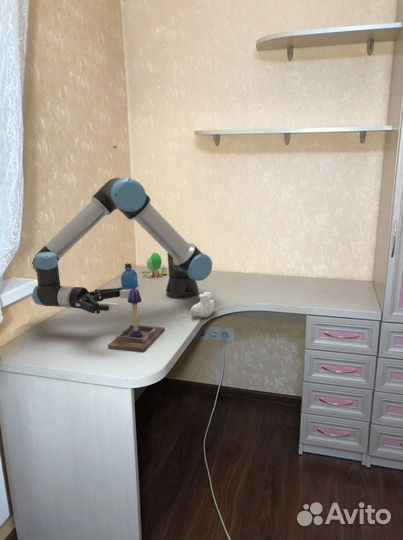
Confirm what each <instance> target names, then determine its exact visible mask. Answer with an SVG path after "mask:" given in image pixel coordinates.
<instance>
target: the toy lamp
mask: <svg viewBox="0 0 403 540" xmlns="http://www.w3.org/2000/svg"><path fill="white" fill-rule="evenodd" d="M129 291H130V292H129V296H128V298H127V303H128V304H131V306H132V307H131V308H132V309H131V310H132V325H133V331H132V332H131V334H130V337H136V338H140V337H142V333H141V331H139V330H138V325H139V315H138V304H139V303H142V297H141V294H140V291H139V289H137V288H135V289H132V290H129Z"/></svg>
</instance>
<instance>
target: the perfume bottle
mask: <svg viewBox="0 0 403 540" xmlns="http://www.w3.org/2000/svg"><path fill="white" fill-rule="evenodd" d="M138 282H139V281H138V273H137V272H136V271H135V270H134V269H133V266H132V263H125V264H124V271H122V274H121V276H120V283H121V288H122V289H137V288H138V286H139V283H138Z"/></svg>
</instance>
